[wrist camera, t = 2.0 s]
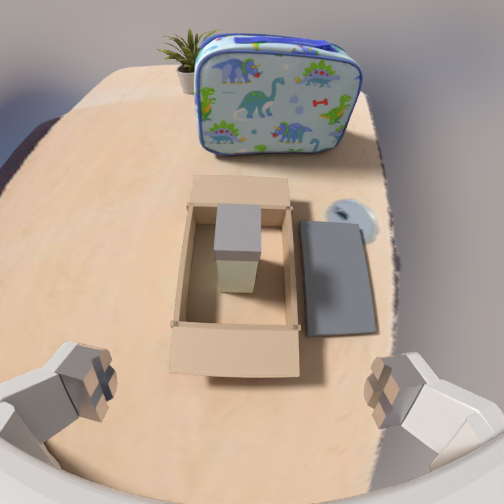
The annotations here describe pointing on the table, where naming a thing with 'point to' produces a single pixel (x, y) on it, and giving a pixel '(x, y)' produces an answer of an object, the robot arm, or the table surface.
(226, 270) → the block
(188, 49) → the house plant
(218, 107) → the lunch box
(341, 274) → the slate mat
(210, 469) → the table surface
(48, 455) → the robot arm
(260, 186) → the open cardboard box
